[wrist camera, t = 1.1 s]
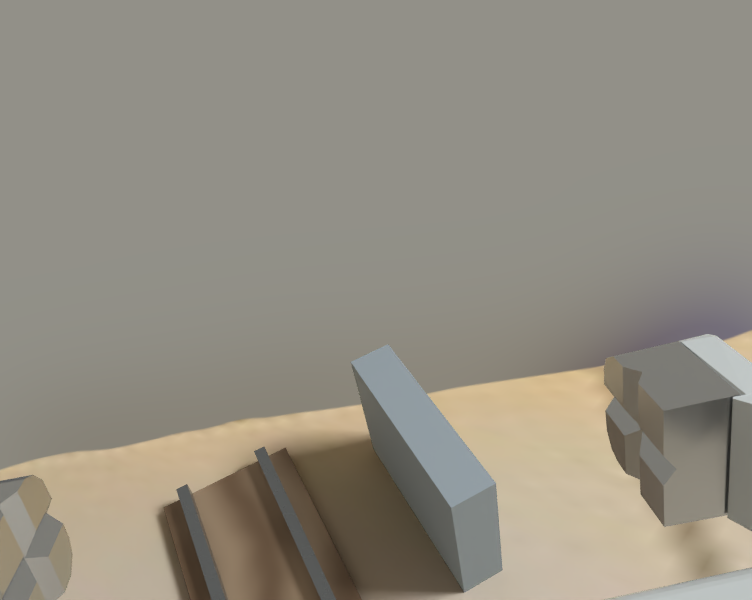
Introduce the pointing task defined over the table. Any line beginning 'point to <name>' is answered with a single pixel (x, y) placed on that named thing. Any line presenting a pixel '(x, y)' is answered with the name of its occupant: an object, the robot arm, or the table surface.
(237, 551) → the track board
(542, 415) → the table surface
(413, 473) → the tall grey rectangular block
